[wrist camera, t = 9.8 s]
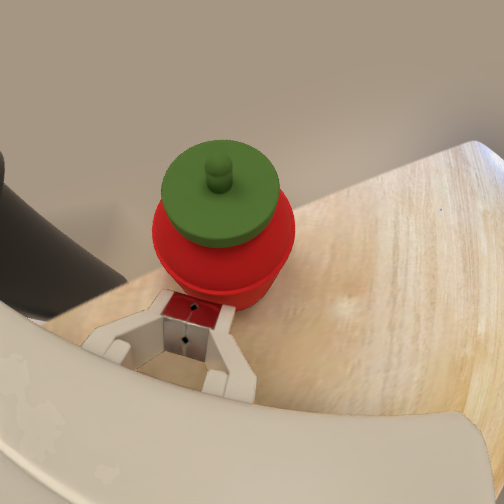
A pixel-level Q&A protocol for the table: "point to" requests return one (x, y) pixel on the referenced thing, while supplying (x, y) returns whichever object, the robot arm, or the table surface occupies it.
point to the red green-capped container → (223, 223)
